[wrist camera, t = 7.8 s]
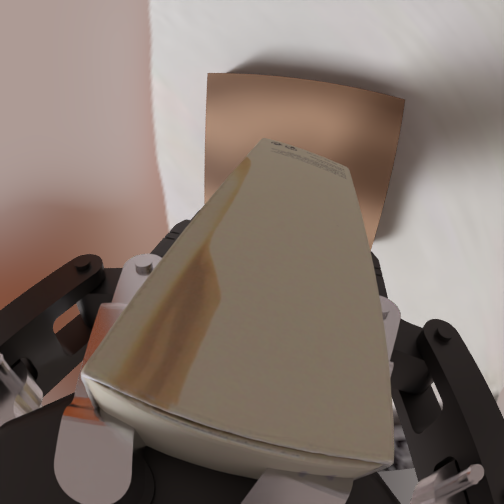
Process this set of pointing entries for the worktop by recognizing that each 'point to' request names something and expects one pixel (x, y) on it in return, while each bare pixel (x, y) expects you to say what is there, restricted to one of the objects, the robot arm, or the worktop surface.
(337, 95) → the walnut block
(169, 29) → the worktop surface
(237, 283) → the skincare box
